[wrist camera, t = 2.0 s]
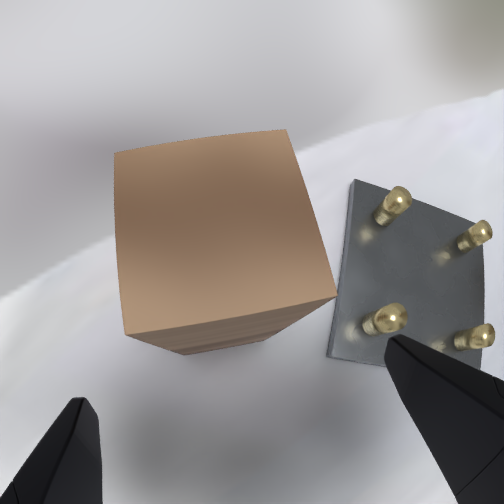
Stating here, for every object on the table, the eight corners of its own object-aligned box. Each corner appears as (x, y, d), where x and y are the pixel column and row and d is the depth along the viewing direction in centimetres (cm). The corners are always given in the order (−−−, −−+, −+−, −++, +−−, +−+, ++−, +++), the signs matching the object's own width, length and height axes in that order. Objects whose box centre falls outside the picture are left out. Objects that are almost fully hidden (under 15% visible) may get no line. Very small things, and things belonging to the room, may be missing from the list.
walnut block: (264, 340, 20) (338, 295, 8) (184, 355, 19) (124, 335, 7) (247, 264, 21) (286, 129, 9) (171, 277, 20) (114, 153, 8)
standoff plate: (471, 376, 20) (505, 373, 16) (326, 356, 20) (350, 353, 16) (474, 230, 24) (501, 211, 21) (350, 185, 24) (369, 155, 20)
